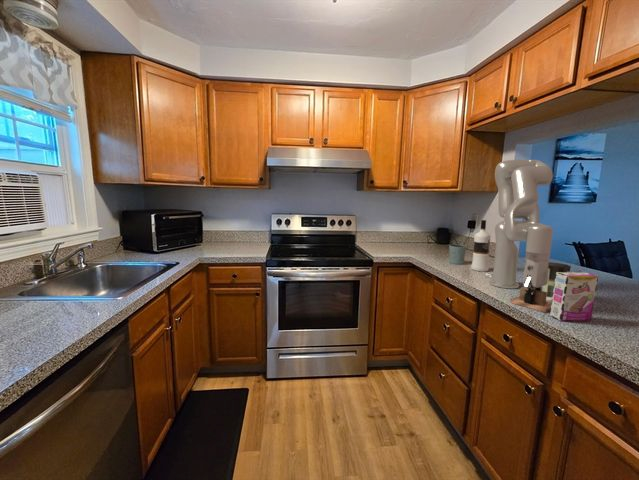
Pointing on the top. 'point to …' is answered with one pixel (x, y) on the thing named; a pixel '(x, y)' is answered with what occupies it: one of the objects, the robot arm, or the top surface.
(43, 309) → the top surface
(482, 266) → the vodka
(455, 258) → the light blue cup
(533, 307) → the plate with tan block
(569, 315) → the candy bar box
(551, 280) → the coffee can
